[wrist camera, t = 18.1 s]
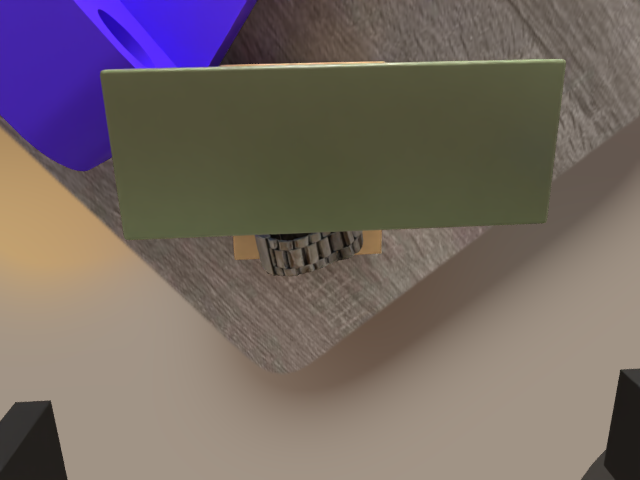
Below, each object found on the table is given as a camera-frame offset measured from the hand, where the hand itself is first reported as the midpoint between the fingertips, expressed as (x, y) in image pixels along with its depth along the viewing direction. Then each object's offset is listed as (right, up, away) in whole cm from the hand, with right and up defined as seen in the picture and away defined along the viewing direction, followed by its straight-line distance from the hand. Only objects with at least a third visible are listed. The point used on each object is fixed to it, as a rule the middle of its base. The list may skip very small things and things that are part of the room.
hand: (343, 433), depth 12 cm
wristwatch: (-1, +6, +16) cm, 17 cm away
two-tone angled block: (-1, +10, +19) cm, 21 cm away
